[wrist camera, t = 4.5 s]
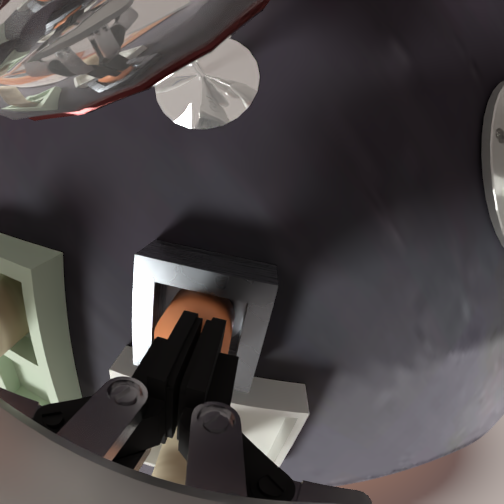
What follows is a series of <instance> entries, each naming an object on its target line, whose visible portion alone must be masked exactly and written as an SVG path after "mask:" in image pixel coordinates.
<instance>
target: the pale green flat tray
mask: <svg viewBox="0 0 504 504" xmlns="http://www.w3.org/2000/svg"><path fill="white" fill-rule="evenodd" d="M0 273H2V274H4V275H6V276H8V277H11V278H13V279H15V280H17V281H20V282H21V284H22V292H23V298H24V305H25V310H26V316H27V321H28V326H29V331H30V332H29V333H28V334H26V335H25V336H24V337H23V338H22V339H21V340H19V341H18V342H17V343H16V344H15V345H14V346H13V347H11V348H10V349H9V350H8V351H7V352H6V353H5V354H4V355H2V356H1V357H0V387H1V388H3V389H6V390H8V391H10V392H13V393H15V394H18V395H21V396H23V397H26V398H29V399H32V400H34V401H37V402H39V403H40V405H41V406H43V405H47V404H51V403H57V402H63V401H69V400H74V399H80V398H82V394H81V390H80V386H79V382H78V377H77V372H76V368H75V363H74V357H73V352H72V346H71V340H70V333H69V326H68V318H67V309H66V299H65V286H64V269H63V252H59V251H56V250H53V249H49V248H46V247H43V246H40V245H36V244H33V243H30V242H27V241H24V240H21V239H17V238H14V237H11V236H8V235H5V234H2V233H0Z"/></svg>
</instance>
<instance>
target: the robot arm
mask: <svg viewBox="0 0 504 504" xmlns="http://www.w3.org/2000/svg"><path fill="white" fill-rule="evenodd" d="M481 158H482V174H483V183H484V190H485V197H486V202H487V206H488V210H489V215H490V218H491V221H492V224H493V227H494V230H495V233H496V235H497V237H498V239H499V240H500V242H501V244H502V246H503V247H504V81H502V82H500V83H499V84H498V85H497V87H496V88H495V89H494V90H493V92H492V94H491V96H490V98H489V100H488V103H487V107H486V111H485V115H484V121H483V129H482V150H481ZM202 322H203V318H199V317H198V313H194V312H190V311H186V310H184V311H183V313H182V315H181V316H180V318H179V320H178V322H177V323H176V325H175V327H174V329H173V330H172V332H171V334H170V336H169V338H168V339H165V338H161V337H156V338H155V340H154V341H153V343H152V344H151V346H150V348H149V349H148V351H147V352H146V354H145V356H144V357H143V359H142V360H141V362H140V364H139V365H138V367H137V369H136V370H135V372H134V374H133V375H132V377H126V376H120V377H115V378H112V379H110V380H109V381H107V382H106V383H105V384H104V385H103V386H102V387H101V388H100V389H99V390H98V391H97V392H96V393H95V394H94V395H93V396H90V397H85V398H80V399H74V400H69V401H63V402H57V403H51V404H47V405H43V406H41V405H40V403H39V402H37V401H34V400H32V399H29V398H26V397H23V396H21V395H18V394H15V393H13V392H10V391H8V390H6V389H3V388H1V387H0V504H372V502H371V499H370V498H369V496H368V495H366V494H365V493H364V492H361V491H357V490H351V489H344V488H339V487H333V486H327V485H322V484H317V483H313V482H308V481H304V480H303V481H302V483H301V482H297V481H293V480H292V479H291V478H290V477H289V476H288V475H287V474H286V473H285V472H284V471H283V470H282V469H280V468H279V467H278V466H277V465H276V464H275V463H274V462H273V461H271V460H270V459H269V458H268V457H267V456H266V455H265V454H264V453H263V452H262V451H261V450H260V449H258V448H257V447H256V446H255V445H254V444H253V443H252V442H251V441H250V440H249V439H248V438H247V437H246V436H245V435H244V434H243V433H242V428H241V419H240V416H239V414H238V413H237V411H236V410H235V409H233V408H232V407H231V406H230V405H231V400H232V394H233V388H234V383H235V377H236V371H237V366H238V360H239V357H238V356H234V355H229V354H225V353H221V348H222V343H223V338H224V332H225V327H226V322H227V320H224V319H219V318H215V317H213V318H212V320H206V322H205V324H204V327H203V329H202ZM201 329H202V332H201ZM176 428H177V440H179V443H178V451H179V452H180V453H181V454H182V456H183V457H184V458H185V460H186V461H187V465H186V480H185V485H182V484H178V483H174V482H171V481H167V480H164V479H160V478H157V477H154V476H151V475H148V474H145V473H142V472H139V469H140V468H141V466H142V465H143V463H144V462H145V460H146V458H147V457H148V455H149V454H150V451H151V448H152V447H155V446H158V445H160V443H162V444H165V443H166V440H167V437H169V438H173V436H174V433H175V431H176Z"/></svg>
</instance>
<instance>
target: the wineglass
mask: <svg viewBox="0 0 504 504" xmlns="http://www.w3.org/2000/svg"><path fill="white" fill-rule="evenodd" d="M269 1H270V0H0V115H3V116H5V117H8V118H10V119H13V120H18V119H25V118H29V119H32V120H34V121H36V120H42V119H49V118H57V117H65V116H75V115H82V114H86V113H89V112H93V111H95V110H97V109H99V108H102V107H104V106H106V105H109V104H111V103H114V102H116V101H119V100H121V99H124V98H126V97H129V96H132V95H135V94H137V93H140V92H143V91H146V90H149V89H151V88H152V87H155V90H156V97H157V102H158V103H159V105H160V107H161V109H162V111H163V113H164V114H165V115H167V116H168V117H169V118H170V119H171V120H172V121H173V122H175V123H177V124H180V125H182V126H185V127H187V128H191V129H205V130H206V129H210V128H215V127H219V126H223V125H225V124H227V123H229V122H231V121H232V120H234V119H236V118H238V117H239V116H240V115H241V114H242V113H243V112H244V111H245V110H246V109H247V108H248V107H249V106H250V105H251V103H252V101H253V99H254V97H255V95H256V93H257V92H258V85H259V79H260V75H259V70H258V65H257V62H256V60H255V59H254V57H253V56H252V54H251V53H250V51H249V50H248V49H247V48H245V47H244V46H243V45H241V44H240V43H239V42H237V41H235V40H232V39H229V38H230V37H231V36H232V35H234V34H235V33H236V32H237V31H238V30H240V29H241V28H242V27H243V26H245V25H246V24H247V23H248V22H250V21H251V20H252V19H253V18H254V17H255V16H256V15H257V14H259V13H260V12H261V11H263V9H264V8H265V6H266V5H267V3H268V2H269Z"/></svg>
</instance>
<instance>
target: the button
mask: <svg viewBox="0 0 504 504" xmlns="http://www.w3.org/2000/svg"><path fill="white" fill-rule="evenodd" d="M184 310H186V311H190V312H194V313H198V317H199V318H203V322H202V329H203V327H204V324H205V322H206V320H212V318H213V317H215V318H219V319H224V320H227V322H226V327H225V332H224V338H223V343H222V348H221V353H225V354H228V351H229V346H230V341H231V336H232V331H233V326H234V321H235V312H234V308H233V305H232V303H231V301H230V300H229V299H227V298H223V297H218V296H213V295H209V294H204V293H200V292H196V291H191V290H187V289H181V290H180V291H179V292H178V293H177V294H176V296H175V297H174V298H173V300H172V301H171V303H170V304H169V306H168V307H167V309H166V311H165V312H164V314H163V315H162V317H161V318H160V320H159V321H158V323H157V325H156V327H155V331H154V339H155V338H156V337H161V338H165V339H168V338H169V336H170V334H171V332H172V330H173V329H174V327H175V325H176V323H177V322H178V320H179V318H180V316H181V315H182V313H183V311H184ZM202 329H201V332H202Z"/></svg>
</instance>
